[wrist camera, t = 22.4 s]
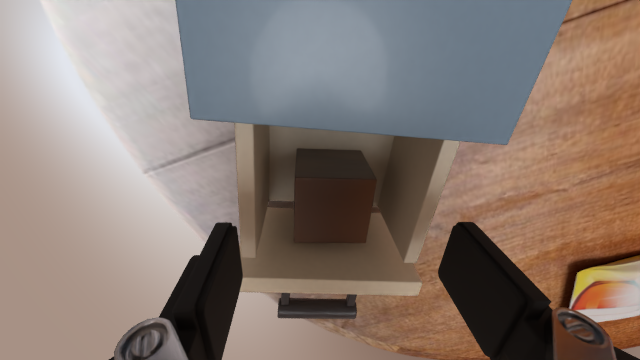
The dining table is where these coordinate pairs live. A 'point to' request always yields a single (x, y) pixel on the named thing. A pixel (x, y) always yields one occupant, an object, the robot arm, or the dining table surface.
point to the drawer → (335, 258)
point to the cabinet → (368, 63)
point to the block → (332, 196)
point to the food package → (608, 290)
